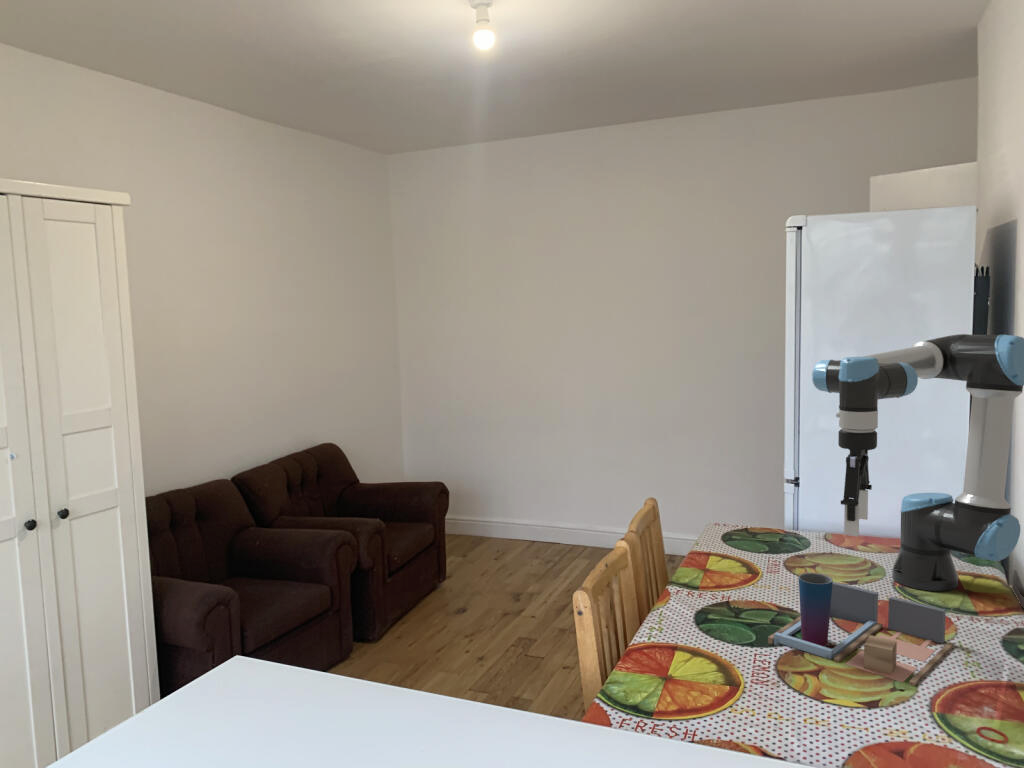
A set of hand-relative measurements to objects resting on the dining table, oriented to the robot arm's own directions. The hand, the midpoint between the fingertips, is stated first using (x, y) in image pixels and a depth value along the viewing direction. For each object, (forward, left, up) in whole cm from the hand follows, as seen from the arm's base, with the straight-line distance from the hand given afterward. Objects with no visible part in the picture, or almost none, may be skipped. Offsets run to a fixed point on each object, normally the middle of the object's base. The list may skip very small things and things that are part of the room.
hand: (856, 526), depth 165 cm
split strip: (+3, +10, -25) cm, 27 cm away
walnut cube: (+12, +10, -24) cm, 28 cm away
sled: (+3, -5, -25) cm, 26 cm away
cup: (+9, -5, -25) cm, 27 cm away
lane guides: (+4, +2, -25) cm, 25 cm away
